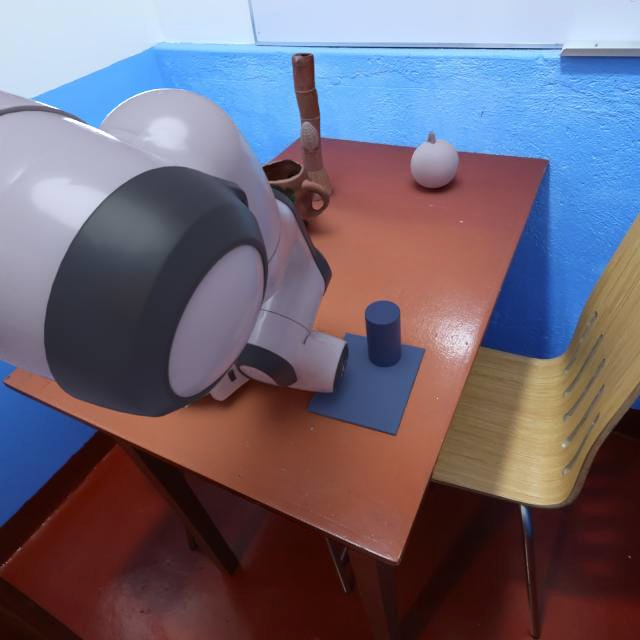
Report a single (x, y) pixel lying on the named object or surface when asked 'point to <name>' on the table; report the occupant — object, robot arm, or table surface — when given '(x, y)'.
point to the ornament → (434, 162)
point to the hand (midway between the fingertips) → (172, 328)
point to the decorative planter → (296, 187)
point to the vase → (309, 120)
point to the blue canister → (383, 333)
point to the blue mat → (370, 388)
